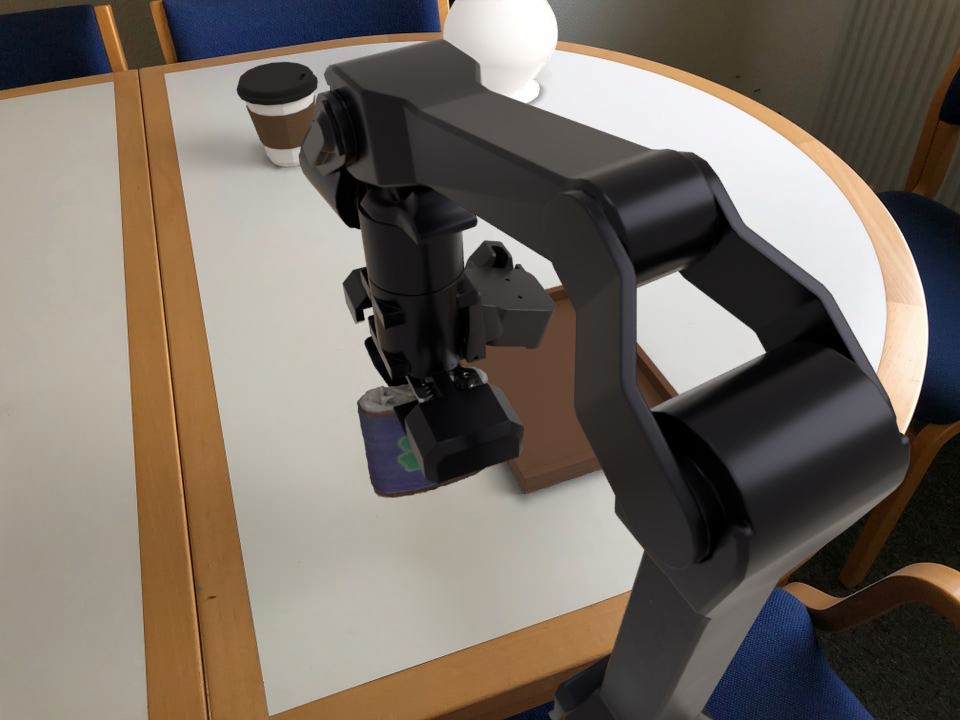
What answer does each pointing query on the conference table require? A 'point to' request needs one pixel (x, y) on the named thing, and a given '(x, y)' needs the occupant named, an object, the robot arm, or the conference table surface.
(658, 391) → the serving tray
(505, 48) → the decorative vase
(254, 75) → the coffee cup
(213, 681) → the conference table surface
